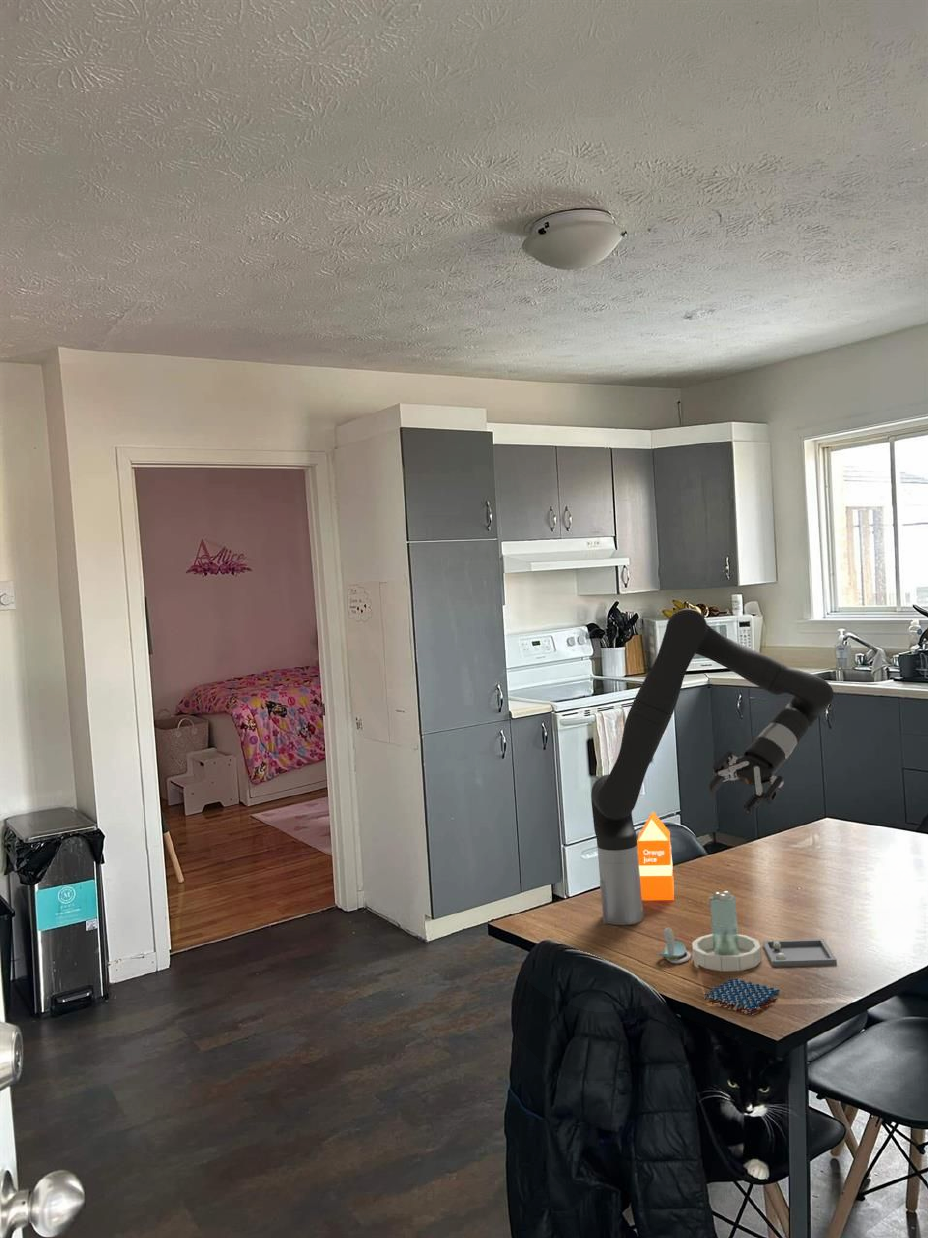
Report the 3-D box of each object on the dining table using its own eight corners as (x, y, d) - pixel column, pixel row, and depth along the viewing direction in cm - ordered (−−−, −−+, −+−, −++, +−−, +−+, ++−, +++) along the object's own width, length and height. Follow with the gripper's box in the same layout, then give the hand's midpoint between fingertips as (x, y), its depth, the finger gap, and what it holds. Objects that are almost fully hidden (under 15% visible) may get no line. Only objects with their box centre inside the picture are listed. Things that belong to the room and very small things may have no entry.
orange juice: (641, 900, 235) (634, 819, 235) (643, 889, 243) (637, 810, 243) (674, 900, 233) (667, 818, 233) (675, 888, 242) (668, 809, 241)
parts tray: (772, 970, 187) (771, 957, 186) (763, 949, 197) (762, 937, 197) (837, 969, 185) (836, 955, 185) (824, 947, 196) (823, 935, 196)
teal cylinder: (715, 962, 191) (710, 896, 190) (712, 952, 196) (707, 889, 195) (741, 961, 190) (736, 895, 190) (738, 952, 195) (732, 888, 195)
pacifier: (696, 955, 198) (669, 950, 202) (695, 925, 198) (667, 921, 201) (683, 968, 192) (655, 963, 196) (681, 937, 192) (653, 932, 195)
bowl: (697, 976, 187) (695, 958, 187) (691, 951, 200) (689, 934, 200) (766, 974, 185) (764, 956, 185) (755, 949, 198) (754, 932, 198)
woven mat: (755, 1020, 168) (754, 1009, 168) (702, 1005, 175) (701, 994, 175) (785, 999, 175) (784, 988, 175) (733, 986, 182) (732, 975, 182)
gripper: (741, 724, 211) (697, 775, 205) (799, 751, 202) (755, 806, 196) (745, 745, 216) (702, 796, 210) (802, 773, 207) (759, 826, 201)
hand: (728, 800), depth 203 cm, fingers open, 8 cm apart
